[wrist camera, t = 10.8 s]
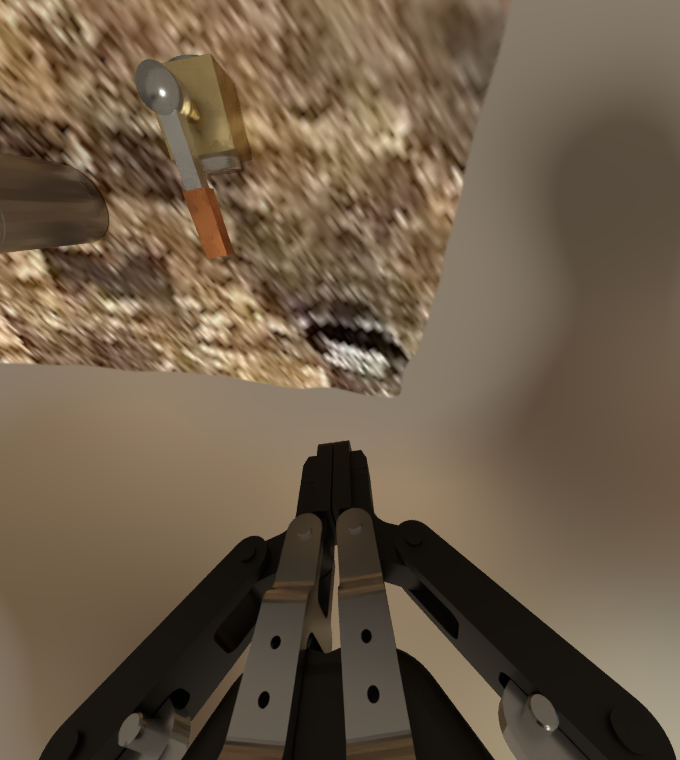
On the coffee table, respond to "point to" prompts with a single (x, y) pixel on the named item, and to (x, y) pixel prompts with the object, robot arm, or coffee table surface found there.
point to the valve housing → (211, 114)
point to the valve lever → (184, 152)
